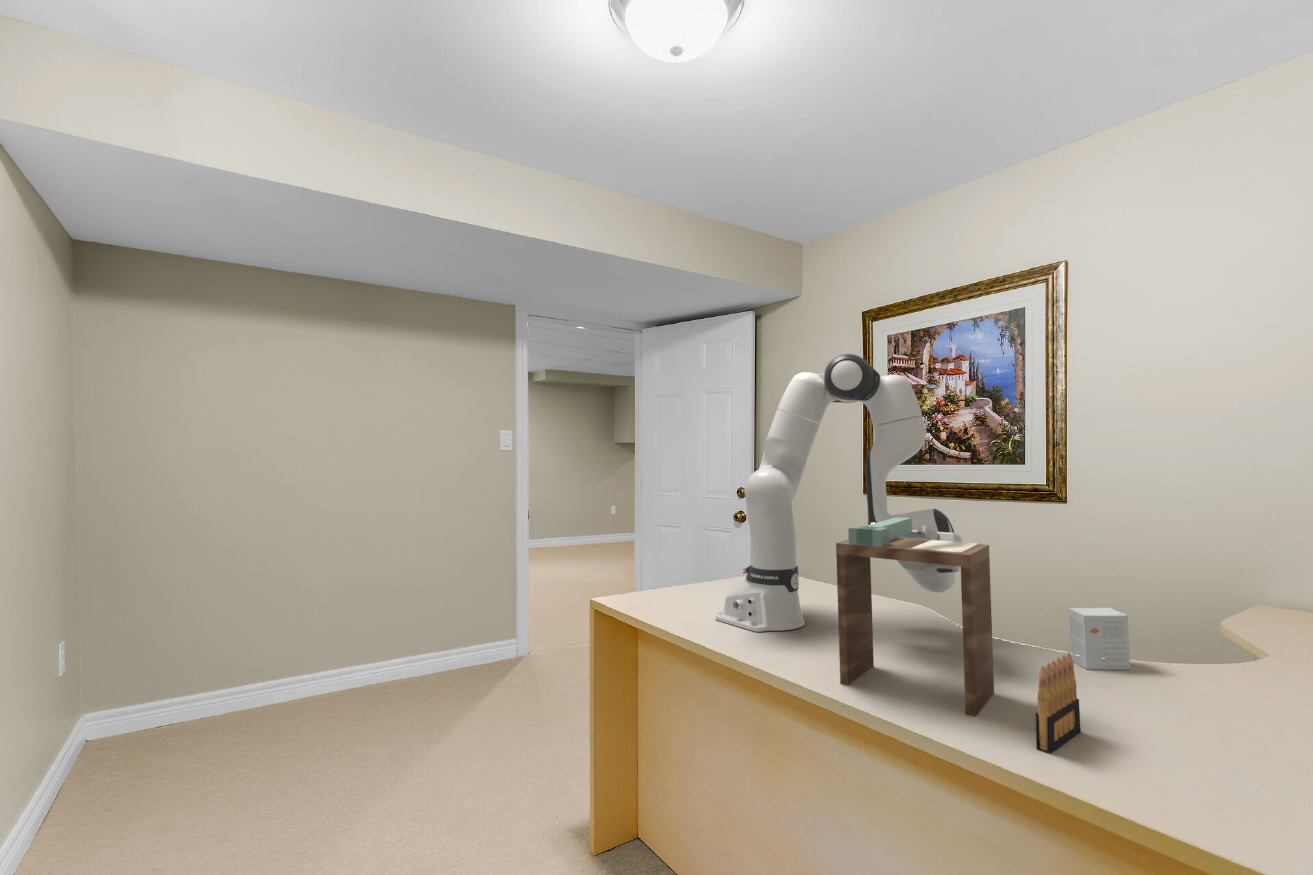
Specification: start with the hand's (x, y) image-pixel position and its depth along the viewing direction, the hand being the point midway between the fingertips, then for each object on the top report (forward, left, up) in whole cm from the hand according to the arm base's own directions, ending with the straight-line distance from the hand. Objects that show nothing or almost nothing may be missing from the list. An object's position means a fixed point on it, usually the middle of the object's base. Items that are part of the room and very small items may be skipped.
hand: (896, 527), depth 123 cm
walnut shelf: (+6, -10, -27) cm, 30 cm away
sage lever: (0, -6, -1) cm, 6 cm away
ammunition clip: (+29, -17, -28) cm, 44 cm away
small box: (+30, +23, -28) cm, 47 cm away
